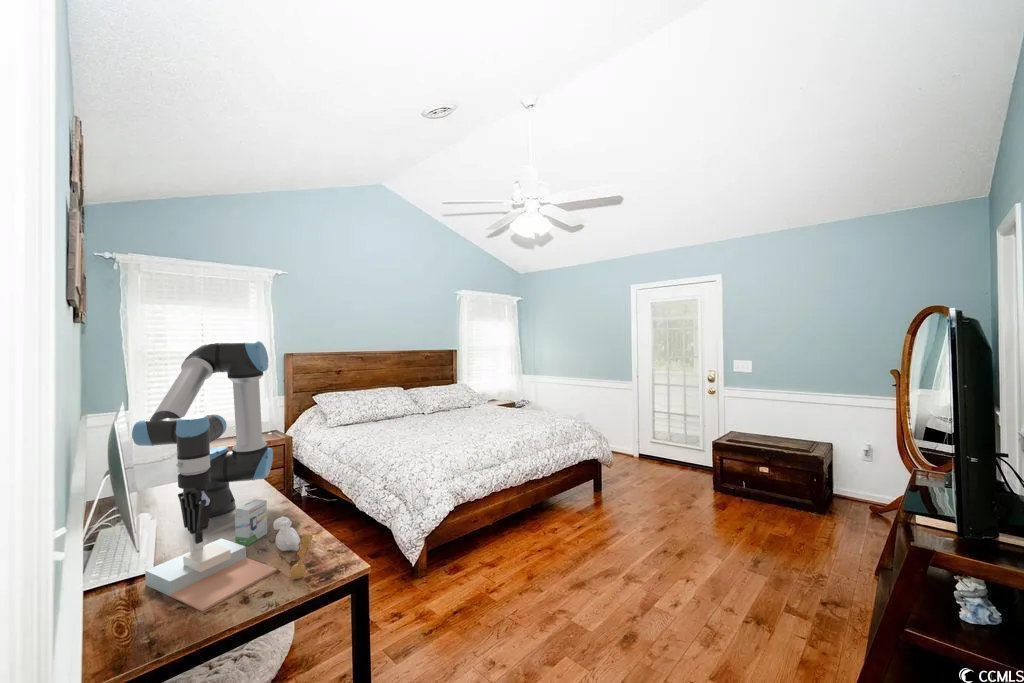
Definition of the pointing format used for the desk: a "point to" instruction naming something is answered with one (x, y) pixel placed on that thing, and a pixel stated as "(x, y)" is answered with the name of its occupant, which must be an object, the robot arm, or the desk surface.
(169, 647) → the desk surface
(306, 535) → the figurine
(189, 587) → the mat
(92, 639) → the desk surface
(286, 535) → the white tied bag
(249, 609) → the desk surface
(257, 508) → the ink box
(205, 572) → the plate
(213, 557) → the coaster
